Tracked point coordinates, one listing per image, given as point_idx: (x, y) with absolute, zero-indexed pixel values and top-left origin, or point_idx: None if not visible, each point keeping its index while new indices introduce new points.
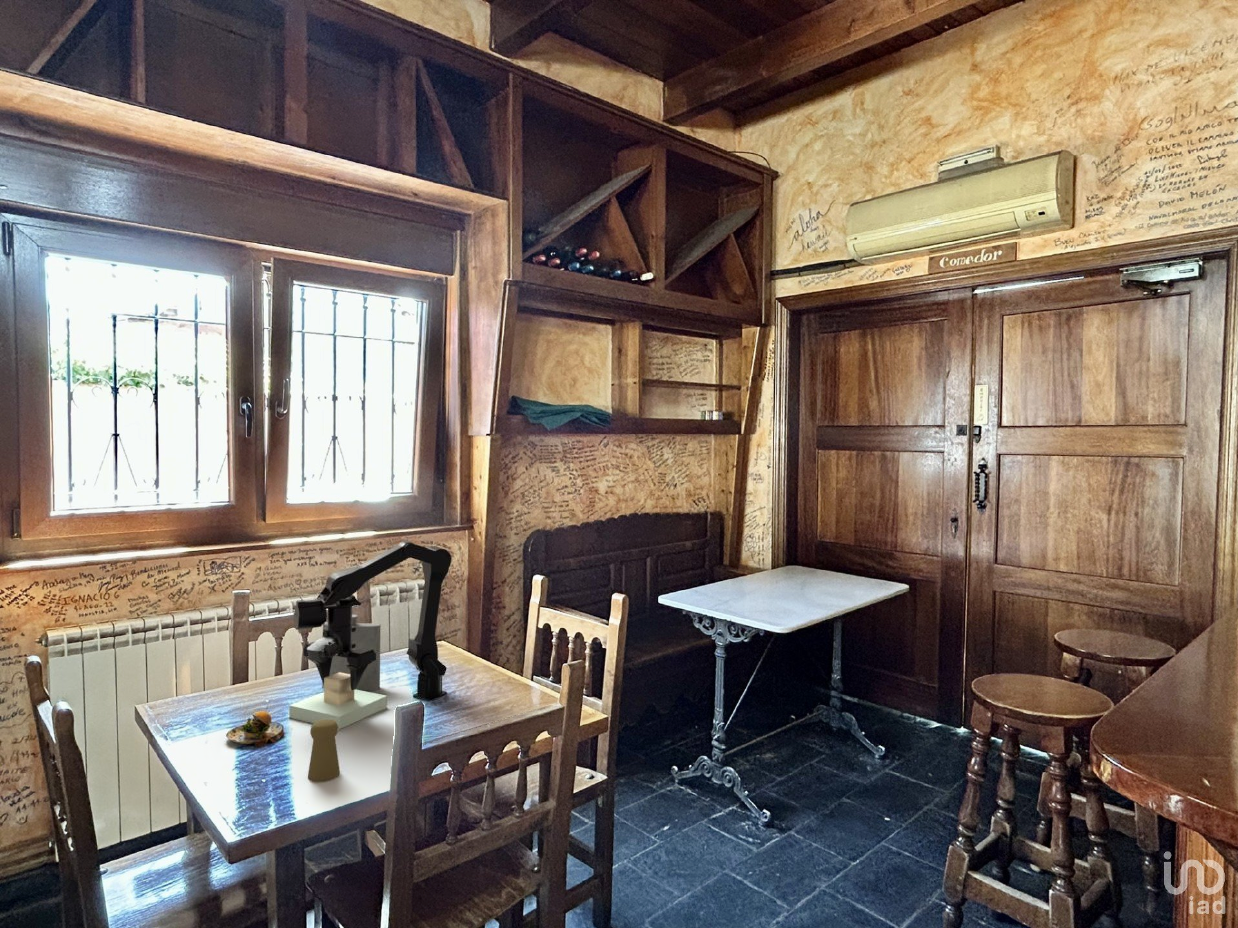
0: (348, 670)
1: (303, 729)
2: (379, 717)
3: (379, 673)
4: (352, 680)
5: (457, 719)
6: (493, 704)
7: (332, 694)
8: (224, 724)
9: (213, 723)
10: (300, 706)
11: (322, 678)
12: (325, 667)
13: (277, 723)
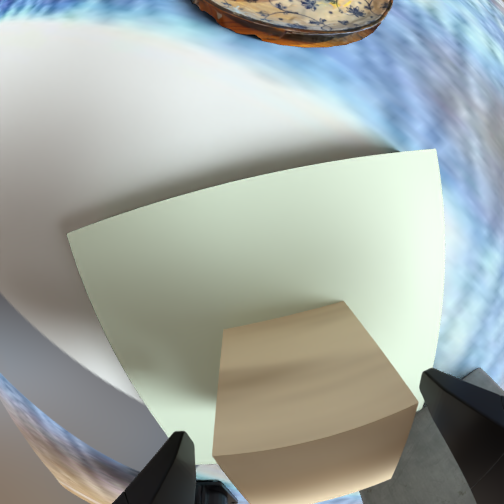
0: (441, 452)
1: (215, 105)
2: (122, 380)
3: (360, 493)
4: (141, 480)
5: (38, 428)
6: (86, 482)
7: (285, 351)
8: (457, 23)
9: (473, 23)
10: (385, 171)
11: (451, 386)
12: (479, 448)
13: (316, 30)
